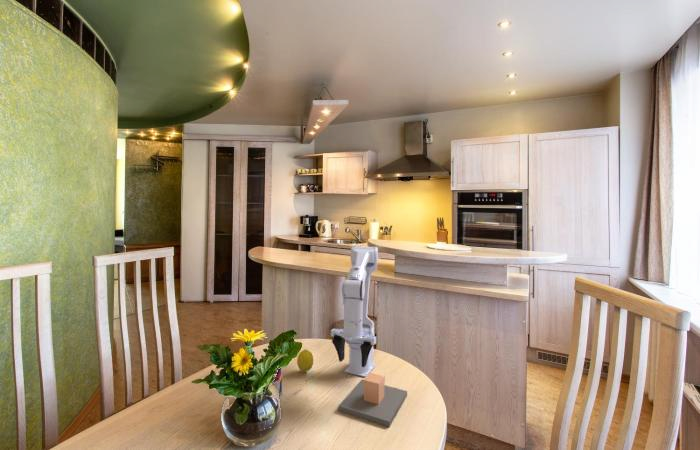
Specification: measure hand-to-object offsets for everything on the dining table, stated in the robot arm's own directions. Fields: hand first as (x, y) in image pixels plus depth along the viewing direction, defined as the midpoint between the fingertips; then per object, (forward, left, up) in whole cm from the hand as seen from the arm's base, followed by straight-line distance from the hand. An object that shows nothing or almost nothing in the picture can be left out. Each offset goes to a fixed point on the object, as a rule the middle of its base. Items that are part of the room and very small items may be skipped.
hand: (352, 362), depth 101 cm
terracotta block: (+2, +8, -8) cm, 11 cm away
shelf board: (+2, +8, -9) cm, 13 cm away
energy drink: (+12, -21, -10) cm, 26 cm away
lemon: (-4, -20, -10) cm, 23 cm away
